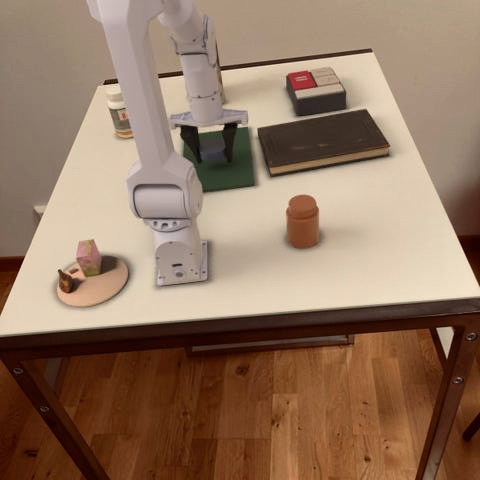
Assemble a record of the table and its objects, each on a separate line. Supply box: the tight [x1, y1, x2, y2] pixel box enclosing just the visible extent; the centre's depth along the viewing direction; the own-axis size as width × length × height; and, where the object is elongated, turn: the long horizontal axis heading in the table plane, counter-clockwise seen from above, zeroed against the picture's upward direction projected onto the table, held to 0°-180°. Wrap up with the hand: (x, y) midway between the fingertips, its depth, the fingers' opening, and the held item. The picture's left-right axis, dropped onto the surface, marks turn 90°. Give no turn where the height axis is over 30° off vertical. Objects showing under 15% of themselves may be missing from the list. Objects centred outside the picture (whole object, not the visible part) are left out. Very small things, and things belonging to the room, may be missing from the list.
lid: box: [199, 139, 227, 162], centre depth 97 cm, size 6×6×2 cm
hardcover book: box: [256, 108, 391, 178], centre depth 101 cm, size 16×23×2 cm
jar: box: [285, 194, 320, 249], centre depth 81 cm, size 5×5×7 cm
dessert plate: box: [56, 239, 130, 308], centre depth 82 cm, size 12×12×4 cm
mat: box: [182, 126, 255, 193], centre depth 103 cm, size 22×14×1 cm, turn 3°
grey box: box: [285, 66, 347, 117], centre depth 115 cm, size 11×4×15 cm
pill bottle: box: [105, 84, 133, 139], centre depth 112 cm, size 6×6×10 cm
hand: (215, 160), depth 99 cm, fingers closed on lid, 5 cm apart
